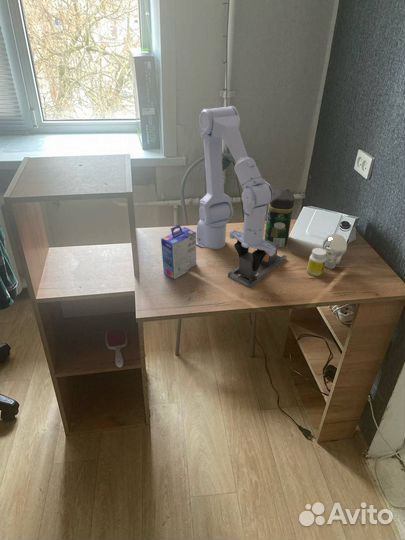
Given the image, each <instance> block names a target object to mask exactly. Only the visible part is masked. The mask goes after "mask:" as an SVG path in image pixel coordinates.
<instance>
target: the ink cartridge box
mask: <svg viewBox="0 0 405 540" xmlns="http://www.w3.org/2000/svg"><path fill="white" fill-rule="evenodd" d="M176 229H178V230H176ZM175 230H176V231H175ZM170 232H171V233H170V234H168V235H166V236H164V237H161V238H160V242H161V243H160V244H161V254H162V255H161V256H162V267H163V270H162V271H163V274H165V275H166V276H168V277H169V278H171V279H173V280H176V279H177V278H179V277H181V276H183V275H185V274H186V273H188V272H190V269H191V268H193V267H194V266H196V265H197V245H196V242H197V231H194V230H191V229H189V228H187V227H185V226H183V227H182V226H181V225H180V224H177V225H175V226H174V227H173V226H172V228H170Z"/></svg>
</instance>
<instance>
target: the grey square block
mask: <svg viewBox="0 0 405 540" xmlns="http://www.w3.org/2000/svg"><path fill="white" fill-rule="evenodd" d="M252 253H253V252H249V251H248V252H247V253H245V254H244V255H242V256H241V257H240V259H239V263H238V266H239V273H238V274H240V275H242V276H244V277H246V278H248V279H251V278H252V277H253V276H255V275H256V274H257V271H258V269H257V270H256V271H253V255H252Z"/></svg>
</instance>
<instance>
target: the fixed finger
mask: <svg viewBox="0 0 405 540" xmlns="http://www.w3.org/2000/svg"><path fill="white" fill-rule="evenodd" d="M266 242H268V243H269V244H270V245H272V246H273V247H275V248H276V252H275V254H274V255H273V256H269V255H268V253H267V254H266V255H265V257H264V258H263V260H262V262H261V263H263V264H265V265H268V266H270V265H271V264H272V263H274V262H275V261H276V256H277V255H278V248H279V247H278V244H276V243H273V242H271V241H269V240H267V241H266Z"/></svg>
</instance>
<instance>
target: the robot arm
mask: <svg viewBox="0 0 405 540" xmlns="http://www.w3.org/2000/svg"><path fill="white" fill-rule="evenodd" d="M198 126H199V137H200V139H202V140H203V148H204V149H203V151H204V162H205V164H204V166H205V177H206V178H205V180H206V181H205V182H206V192H207V193H206V194H205V195H204V196H203V197H202V198H201V199H200V200H199V209H198V210H199V211H198V216H199V220H198V222H197V225H196V246H198V247H201V248H205V247H207V248H209V249H211V250H212V249H213V250H218V249H222V248H224V247H225V246H226V241H227V240H226V239H227V225H228V224H229V221H230V220H231V219H232V218H233V215H234V208H233V204H232V200H231V197H230V196H229V195H228V194H226V193H225V190H224V175H223V173H224V171H223V157H222V156H223V153H222V141H224V143H225V144H226V146H227V149H228V150H229V152H230V154H231V157H233V159H234V161H235V165H234V167H233V168H234V172H235V174H236V177H237V179H238V181H239V184H240V186H241V188H242V193H241V200H242V203H243V204H242V205H243V206H242V209H243V212H244V217H243V227H242V229H243V230H242V231H239V230H235V229H233V230H231V231H230V232H229V239H232V240H234V239H235V240H236V243H234V245H233V246H234V247H233V248H234V249H235V250H236V252H237V255H238V258H239V260H240V257H241V256H242V255H244V254H245V253H247V252H249V249H250V248H252V249H255V250H254V251H253V252H251V253H252V255H253V271H256V270H257V269H259V266H260V264H261V262H262V260H263V258H264V257H265V255H266V254H267V253H268V255H269V256H273V255H274V254H275V252H276V248H275V247H273V246H272V245H270V244H269V243H268V242H266V241H265V238H264V234H265V233H264V232H265V227H266V219H267V211H268V205H269V203H271V202H272V200H273V190H274V189H273V188H272V186H271V184H270V183H269V182H267V181H266V179H265V178H262V175H261V172H260V170H259V168H258V166H257V163H256V161H255V160H254V159H253V158H252V157H249V156H248V152H247V149H246V147H245V145H244V144H245V143H244V140H243V137H242V135H241V132H240V126H241V118H240V114H239V111H238V109H237V108H236V107H235V106H234V105H229V106H223V107H222V106H221V107H214V108H203V109H202V111H201V112H200V114H199V116H198Z"/></svg>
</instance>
